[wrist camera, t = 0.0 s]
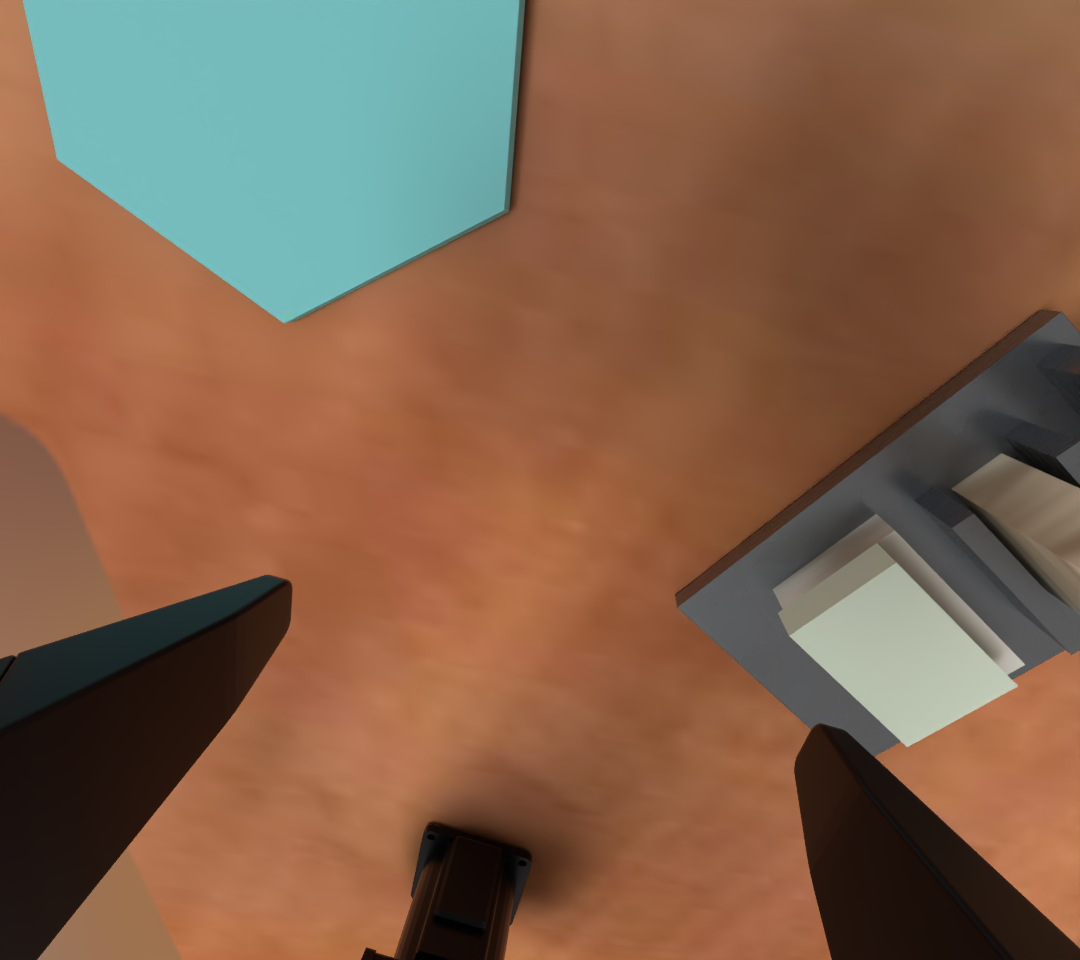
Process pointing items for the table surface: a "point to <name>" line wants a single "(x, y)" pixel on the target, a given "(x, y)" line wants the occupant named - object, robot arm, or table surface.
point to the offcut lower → (913, 566)
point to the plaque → (288, 128)
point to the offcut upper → (893, 647)
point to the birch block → (1030, 521)
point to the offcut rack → (915, 523)
